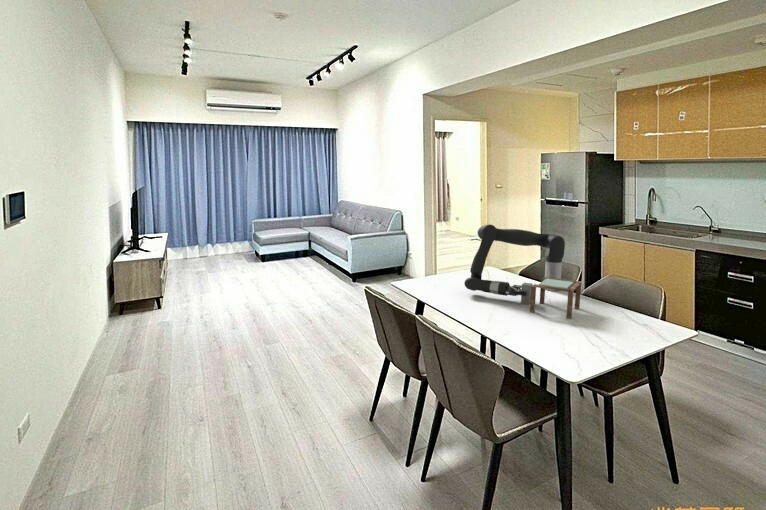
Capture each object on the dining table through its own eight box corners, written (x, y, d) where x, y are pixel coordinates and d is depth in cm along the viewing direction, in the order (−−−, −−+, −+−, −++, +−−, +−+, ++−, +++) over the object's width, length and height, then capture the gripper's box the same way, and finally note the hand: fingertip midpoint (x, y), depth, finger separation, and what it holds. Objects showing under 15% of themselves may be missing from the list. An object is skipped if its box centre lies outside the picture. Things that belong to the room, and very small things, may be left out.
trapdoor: (546, 280, 247) (546, 278, 247) (575, 284, 239) (575, 281, 238) (538, 286, 235) (538, 284, 235) (568, 290, 227) (568, 288, 227)
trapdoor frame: (540, 302, 253) (542, 276, 251) (579, 308, 242) (581, 281, 240) (529, 312, 237) (531, 284, 234) (570, 318, 226) (572, 290, 223)
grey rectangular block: (523, 301, 255) (524, 282, 253) (531, 303, 252) (532, 283, 250) (520, 303, 251) (521, 284, 249) (529, 305, 249) (530, 285, 247)
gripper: (495, 284, 253) (524, 288, 244) (504, 278, 264) (532, 282, 255) (494, 297, 254) (524, 302, 245) (503, 291, 266) (532, 295, 257)
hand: (528, 292), depth 250 cm, fingers open, 8 cm apart
